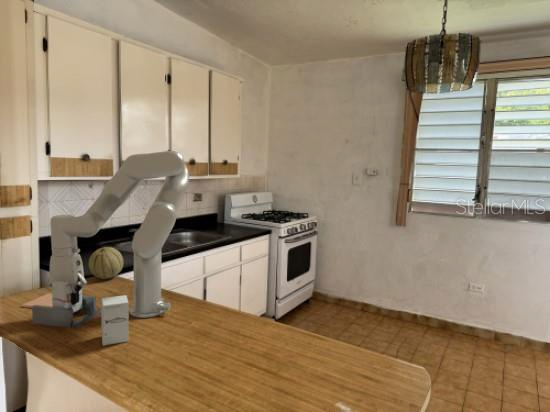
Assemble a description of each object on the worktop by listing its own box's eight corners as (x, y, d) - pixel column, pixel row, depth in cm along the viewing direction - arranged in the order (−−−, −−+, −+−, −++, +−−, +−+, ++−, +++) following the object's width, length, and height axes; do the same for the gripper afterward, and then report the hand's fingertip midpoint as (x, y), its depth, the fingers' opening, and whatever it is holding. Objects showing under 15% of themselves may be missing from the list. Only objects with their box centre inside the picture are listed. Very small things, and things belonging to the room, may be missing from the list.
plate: (78, 298, 145) (78, 296, 145) (53, 310, 133) (53, 308, 133) (48, 295, 147) (48, 293, 147) (21, 307, 135) (21, 304, 135)
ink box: (65, 317, 122) (63, 283, 121) (52, 316, 123) (50, 282, 122) (83, 307, 131) (81, 275, 129) (71, 306, 132) (69, 274, 130)
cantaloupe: (124, 272, 181) (123, 242, 180) (122, 281, 168) (122, 249, 166) (90, 274, 176) (90, 243, 175) (86, 284, 162) (86, 250, 161)
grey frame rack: (100, 313, 132) (100, 297, 131) (75, 328, 119) (75, 310, 119) (61, 308, 134) (60, 293, 134) (32, 323, 122) (32, 306, 121)
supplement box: (102, 346, 108) (101, 305, 107) (101, 336, 115) (100, 297, 114) (129, 342, 112) (128, 302, 110) (126, 332, 118) (126, 294, 117)
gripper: (94, 250, 127) (97, 300, 129) (50, 247, 130) (53, 297, 132) (80, 255, 120) (82, 308, 122) (33, 252, 122) (37, 305, 124)
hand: (67, 302), depth 127 cm, fingers closed on ink box, 5 cm apart
